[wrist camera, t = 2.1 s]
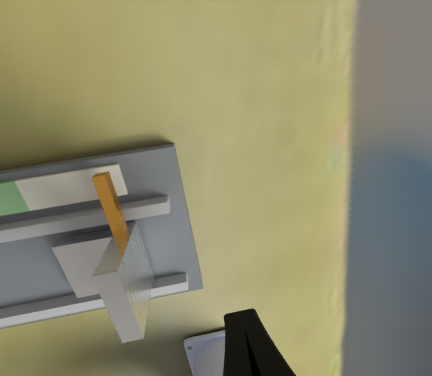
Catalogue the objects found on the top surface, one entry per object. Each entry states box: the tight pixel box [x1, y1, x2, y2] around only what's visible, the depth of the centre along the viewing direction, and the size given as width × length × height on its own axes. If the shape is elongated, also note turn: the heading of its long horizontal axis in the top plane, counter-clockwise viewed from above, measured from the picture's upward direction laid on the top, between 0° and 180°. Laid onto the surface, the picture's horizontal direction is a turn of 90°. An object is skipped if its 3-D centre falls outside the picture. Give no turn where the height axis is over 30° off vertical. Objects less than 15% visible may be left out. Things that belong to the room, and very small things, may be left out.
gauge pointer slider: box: [52, 171, 154, 343], centre depth 13 cm, size 9×5×5 cm, turn 7°
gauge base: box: [0, 143, 203, 329], centre depth 14 cm, size 12×21×6 cm, turn 97°
